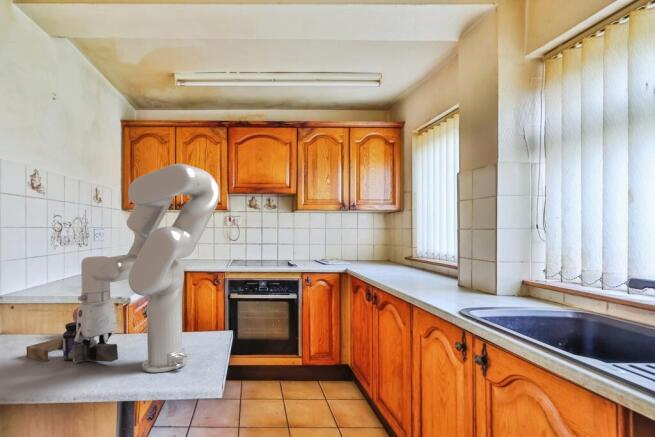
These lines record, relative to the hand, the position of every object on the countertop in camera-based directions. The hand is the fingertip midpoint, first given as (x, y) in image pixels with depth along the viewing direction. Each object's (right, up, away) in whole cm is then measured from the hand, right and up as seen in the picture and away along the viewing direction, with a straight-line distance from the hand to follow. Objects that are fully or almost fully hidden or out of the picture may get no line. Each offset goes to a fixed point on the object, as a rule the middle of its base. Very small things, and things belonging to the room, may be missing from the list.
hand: (96, 357), depth 116 cm
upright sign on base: (0, -1, 0) cm, 1 cm away
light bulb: (-22, -3, +28) cm, 36 cm away
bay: (-19, -2, +9) cm, 21 cm away
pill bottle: (-10, -2, +5) cm, 11 cm away
